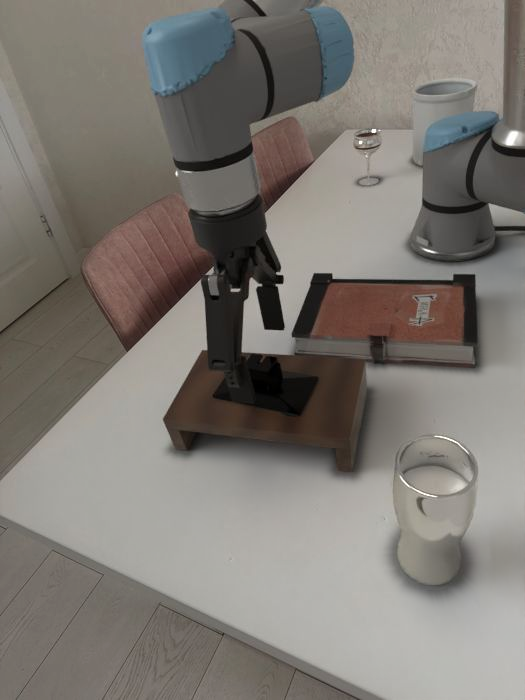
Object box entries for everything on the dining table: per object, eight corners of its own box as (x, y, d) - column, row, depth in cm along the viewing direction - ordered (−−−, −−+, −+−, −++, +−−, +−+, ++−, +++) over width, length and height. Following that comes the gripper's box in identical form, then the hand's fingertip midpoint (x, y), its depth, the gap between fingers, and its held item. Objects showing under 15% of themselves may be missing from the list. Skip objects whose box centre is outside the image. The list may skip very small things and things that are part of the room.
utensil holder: (478, 163, 125) (486, 86, 114) (417, 172, 126) (419, 98, 116) (460, 145, 136) (466, 74, 125) (405, 154, 138) (406, 84, 127)
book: (294, 359, 78) (289, 334, 75) (316, 296, 91) (313, 273, 87) (474, 371, 70) (478, 343, 66) (472, 300, 82) (475, 274, 79)
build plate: (319, 379, 65) (315, 352, 62) (299, 419, 60) (294, 391, 57) (235, 363, 70) (229, 338, 67) (211, 399, 65) (202, 373, 62)
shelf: (367, 391, 70) (365, 359, 66) (352, 472, 60) (349, 439, 56) (211, 379, 78) (202, 349, 74) (175, 449, 68) (162, 419, 64)
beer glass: (384, 531, 54) (382, 439, 44) (449, 520, 53) (461, 425, 44) (404, 595, 48) (407, 507, 39) (476, 584, 48) (496, 492, 38)
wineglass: (386, 177, 128) (386, 128, 120) (376, 187, 124) (374, 137, 116) (361, 175, 131) (359, 128, 124) (350, 185, 127) (348, 137, 120)
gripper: (229, 157, 59) (260, 303, 72) (132, 266, 41) (196, 434, 55) (290, 152, 57) (310, 304, 70) (215, 266, 39) (261, 442, 52)
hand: (260, 361), depth 62 cm, fingers open, 13 cm apart
